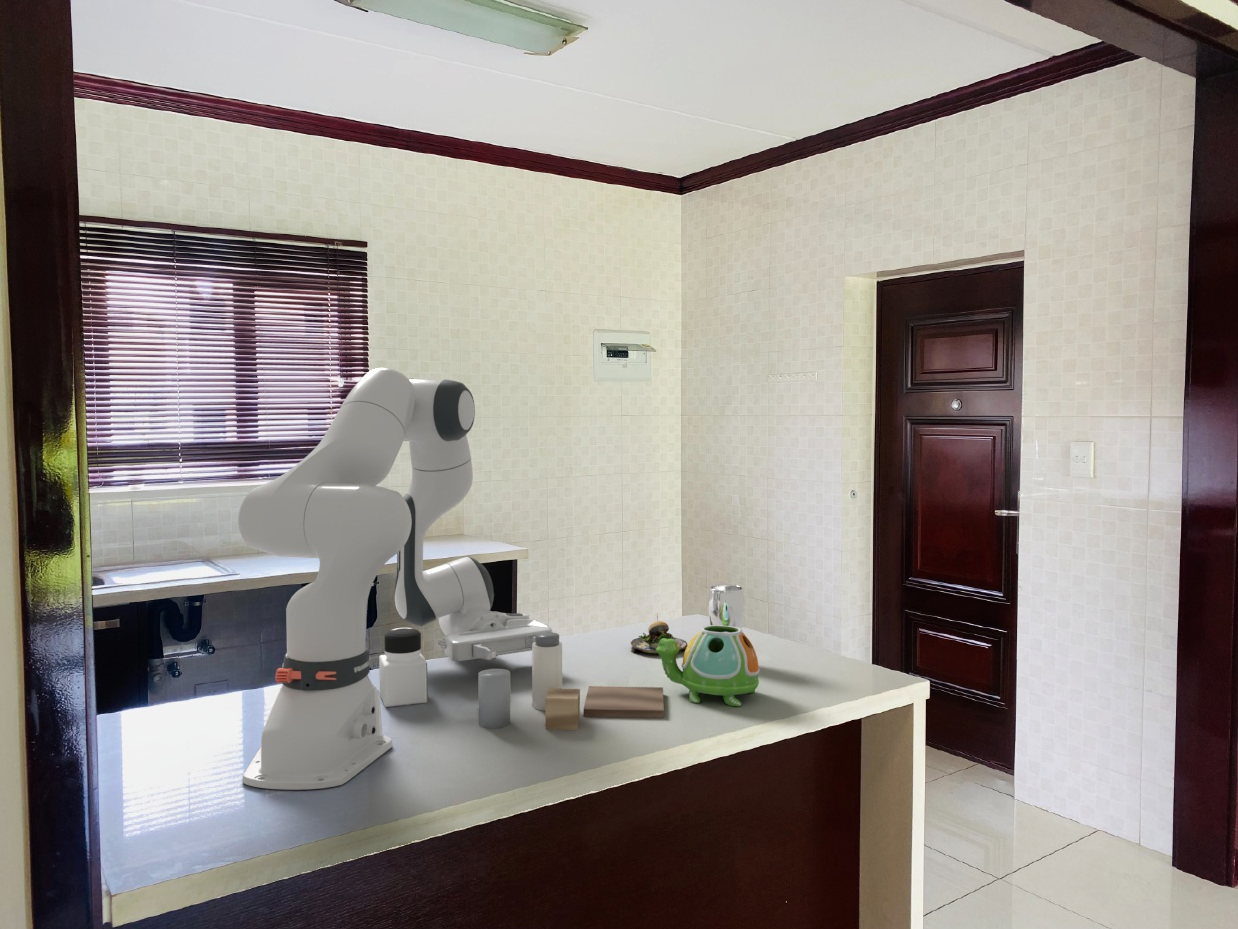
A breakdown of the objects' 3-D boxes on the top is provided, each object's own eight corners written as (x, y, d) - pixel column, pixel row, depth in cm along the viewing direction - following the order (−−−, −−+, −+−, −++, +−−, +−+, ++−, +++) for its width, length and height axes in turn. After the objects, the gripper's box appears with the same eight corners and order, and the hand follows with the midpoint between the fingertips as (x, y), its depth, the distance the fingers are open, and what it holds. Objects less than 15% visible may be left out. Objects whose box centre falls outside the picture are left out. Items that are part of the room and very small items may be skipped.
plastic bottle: (560, 710, 150) (560, 639, 149) (530, 710, 150) (530, 638, 149) (563, 701, 155) (563, 631, 154) (534, 700, 155) (534, 631, 154)
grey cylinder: (507, 728, 142) (507, 678, 141) (475, 728, 142) (475, 677, 141) (512, 717, 147) (512, 669, 146) (481, 717, 147) (481, 668, 146)
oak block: (577, 730, 141) (577, 698, 141) (545, 729, 141) (545, 698, 141) (579, 719, 146) (579, 688, 146) (549, 718, 146) (549, 688, 146)
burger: (624, 656, 183) (624, 620, 183) (636, 642, 195) (636, 607, 194) (683, 660, 181) (683, 624, 180) (691, 645, 192) (692, 610, 192)
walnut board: (663, 717, 147) (663, 710, 147) (583, 716, 147) (583, 709, 147) (662, 694, 159) (662, 687, 159) (588, 693, 159) (588, 686, 159)
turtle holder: (666, 679, 167) (666, 615, 167) (764, 689, 162) (765, 623, 161) (647, 700, 156) (648, 631, 155) (752, 711, 150) (754, 640, 149)
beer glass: (704, 666, 176) (705, 589, 175) (711, 656, 182) (712, 583, 181) (740, 669, 174) (741, 592, 173) (746, 659, 180) (747, 585, 179)
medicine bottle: (427, 703, 153) (427, 633, 153) (384, 708, 151) (383, 637, 150) (420, 690, 160) (420, 623, 159) (379, 695, 157) (378, 627, 157)
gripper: (433, 625, 168) (462, 641, 156) (533, 612, 179) (566, 627, 167) (433, 658, 168) (462, 677, 157) (533, 643, 179) (566, 660, 167)
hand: (516, 651), depth 162 cm, fingers open, 8 cm apart
